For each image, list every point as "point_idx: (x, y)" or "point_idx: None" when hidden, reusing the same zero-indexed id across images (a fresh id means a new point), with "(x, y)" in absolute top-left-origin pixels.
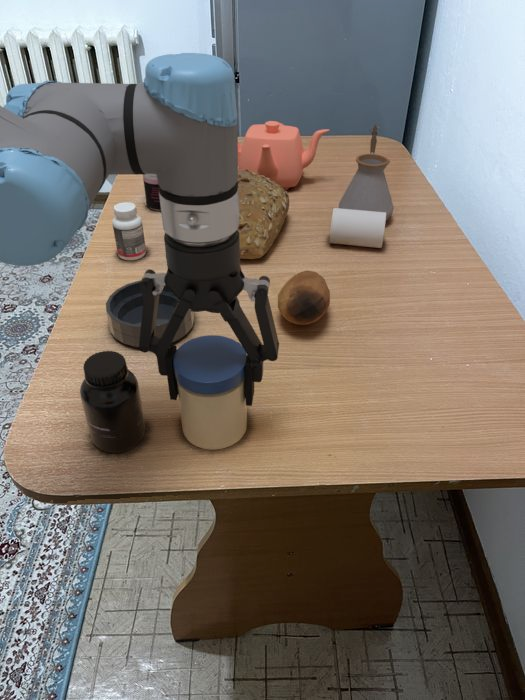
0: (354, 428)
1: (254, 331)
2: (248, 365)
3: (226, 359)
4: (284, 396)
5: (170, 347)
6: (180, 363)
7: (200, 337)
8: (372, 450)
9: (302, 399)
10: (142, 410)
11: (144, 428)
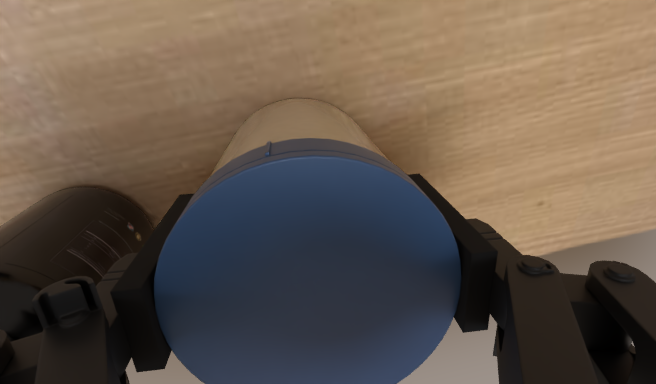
0: (604, 124)
1: (580, 338)
2: (475, 330)
3: (381, 298)
4: (455, 43)
5: (120, 307)
6: (206, 354)
7: (227, 189)
8: (623, 177)
9: (501, 47)
10: (127, 250)
11: (150, 233)
